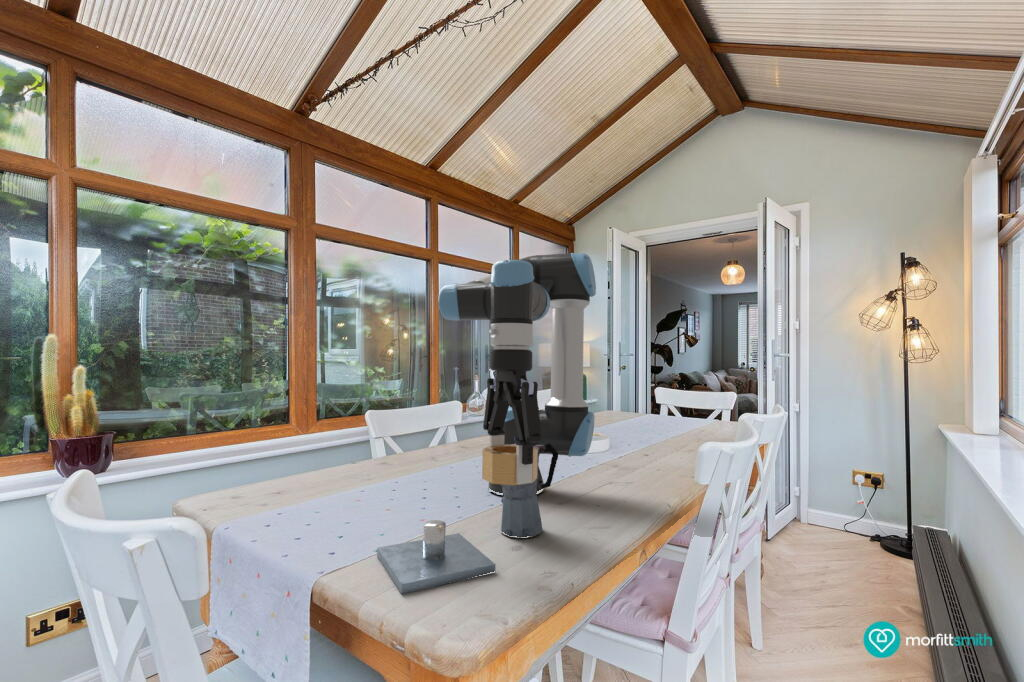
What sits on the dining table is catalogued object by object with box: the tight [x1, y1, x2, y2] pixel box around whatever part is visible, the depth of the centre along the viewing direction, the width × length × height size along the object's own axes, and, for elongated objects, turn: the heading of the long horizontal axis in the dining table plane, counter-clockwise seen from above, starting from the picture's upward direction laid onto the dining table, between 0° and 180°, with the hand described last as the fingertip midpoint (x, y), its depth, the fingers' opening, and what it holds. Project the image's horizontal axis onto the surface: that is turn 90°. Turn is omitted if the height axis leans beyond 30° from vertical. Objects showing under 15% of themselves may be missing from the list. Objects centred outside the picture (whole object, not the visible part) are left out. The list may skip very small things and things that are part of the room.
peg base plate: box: [376, 519, 496, 595], centre depth 85 cm, size 16×16×7 cm
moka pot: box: [500, 436, 559, 537], centre depth 102 cm, size 10×15×20 cm, turn 111°
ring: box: [481, 444, 539, 485], centre depth 85 cm, size 9×9×5 cm
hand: (509, 476), depth 85 cm, fingers closed on ring, 9 cm apart
